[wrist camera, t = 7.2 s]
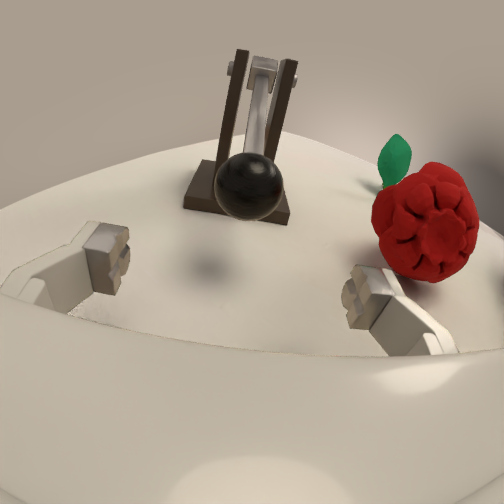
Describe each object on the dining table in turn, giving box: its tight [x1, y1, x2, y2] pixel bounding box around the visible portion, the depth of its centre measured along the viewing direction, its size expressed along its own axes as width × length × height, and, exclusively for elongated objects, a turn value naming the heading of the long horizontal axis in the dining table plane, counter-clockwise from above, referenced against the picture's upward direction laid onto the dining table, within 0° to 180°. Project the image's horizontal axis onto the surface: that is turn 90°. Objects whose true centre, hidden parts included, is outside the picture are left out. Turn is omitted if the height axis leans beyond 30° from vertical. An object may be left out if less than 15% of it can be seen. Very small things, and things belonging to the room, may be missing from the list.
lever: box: [214, 56, 284, 221], centre depth 18 cm, size 17×4×4 cm, turn 1°
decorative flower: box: [371, 134, 479, 283], centre depth 28 cm, size 14×30×10 cm, turn 155°
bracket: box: [184, 49, 298, 225], centre depth 25 cm, size 10×9×14 cm
